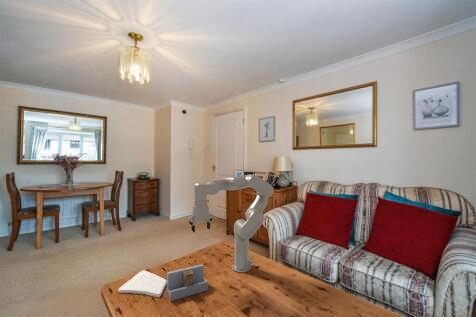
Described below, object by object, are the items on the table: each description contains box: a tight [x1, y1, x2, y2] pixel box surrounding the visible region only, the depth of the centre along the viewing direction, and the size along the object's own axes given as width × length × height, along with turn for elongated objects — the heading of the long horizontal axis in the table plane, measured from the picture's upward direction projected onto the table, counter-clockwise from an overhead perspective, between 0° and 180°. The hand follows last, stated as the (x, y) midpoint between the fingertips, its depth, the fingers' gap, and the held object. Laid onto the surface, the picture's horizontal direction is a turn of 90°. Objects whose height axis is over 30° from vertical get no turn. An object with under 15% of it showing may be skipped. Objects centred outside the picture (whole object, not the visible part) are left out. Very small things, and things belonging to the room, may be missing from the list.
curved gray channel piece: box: [166, 264, 209, 302], centre depth 114 cm, size 20×10×10 cm, turn 118°
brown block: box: [183, 269, 193, 287], centre depth 113 cm, size 4×6×8 cm
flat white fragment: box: [117, 269, 167, 298], centre depth 119 cm, size 21×4×25 cm
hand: (201, 230), depth 130 cm, fingers open, 9 cm apart
